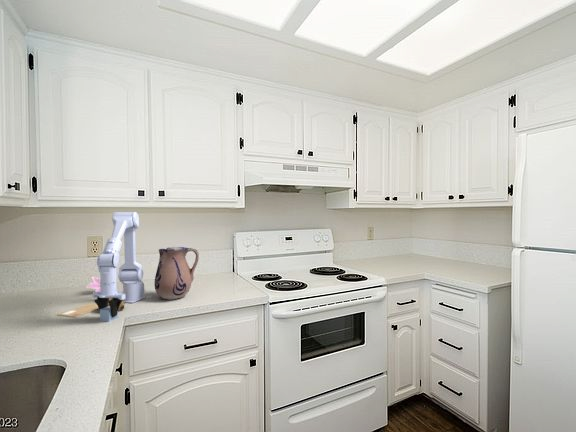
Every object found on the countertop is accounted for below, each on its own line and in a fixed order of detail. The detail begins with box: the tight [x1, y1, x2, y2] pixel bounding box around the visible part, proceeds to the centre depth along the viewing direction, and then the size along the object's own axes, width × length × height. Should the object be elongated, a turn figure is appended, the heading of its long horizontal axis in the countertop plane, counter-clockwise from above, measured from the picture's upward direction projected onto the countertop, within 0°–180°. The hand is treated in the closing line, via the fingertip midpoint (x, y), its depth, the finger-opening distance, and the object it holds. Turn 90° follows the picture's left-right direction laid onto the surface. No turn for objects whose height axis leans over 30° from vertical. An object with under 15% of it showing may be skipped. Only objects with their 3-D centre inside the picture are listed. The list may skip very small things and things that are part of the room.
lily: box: [85, 275, 101, 292], centre depth 160 cm, size 12×12×10 cm
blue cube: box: [99, 306, 119, 323], centre depth 122 cm, size 4×4×4 cm
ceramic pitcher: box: [153, 246, 200, 301], centre depth 153 cm, size 18×21×25 cm
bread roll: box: [97, 298, 126, 313], centre depth 134 cm, size 10×10×8 cm
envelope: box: [56, 302, 98, 318], centre depth 133 cm, size 16×10×1 cm, turn 165°
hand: (109, 315), depth 123 cm, fingers closed on blue cube, 4 cm apart
